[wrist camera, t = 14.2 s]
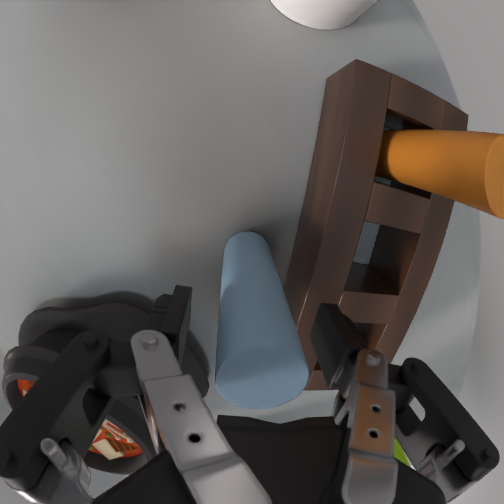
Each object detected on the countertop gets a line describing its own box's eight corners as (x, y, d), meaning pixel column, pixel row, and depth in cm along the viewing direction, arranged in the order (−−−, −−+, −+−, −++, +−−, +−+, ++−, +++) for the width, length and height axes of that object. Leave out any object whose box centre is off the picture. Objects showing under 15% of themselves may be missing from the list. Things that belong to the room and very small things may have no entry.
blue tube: (221, 270, 20) (211, 406, 9) (227, 227, 19) (219, 342, 8) (264, 276, 21) (295, 410, 10) (273, 234, 20) (321, 350, 8)
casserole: (116, 236, 19) (57, 291, 11) (249, 391, 25) (255, 464, 17) (-1, 344, 22) (-33, 385, 14) (98, 437, 29) (83, 483, 21)
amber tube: (349, 168, 18) (477, 208, 7) (358, 125, 17) (491, 120, 6) (387, 179, 19) (516, 226, 7) (395, 138, 17) (529, 153, 6)
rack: (268, 347, 23) (275, 390, 18) (326, 77, 16) (356, 58, 11) (357, 350, 24) (376, 387, 19) (426, 116, 17) (468, 115, 12)
